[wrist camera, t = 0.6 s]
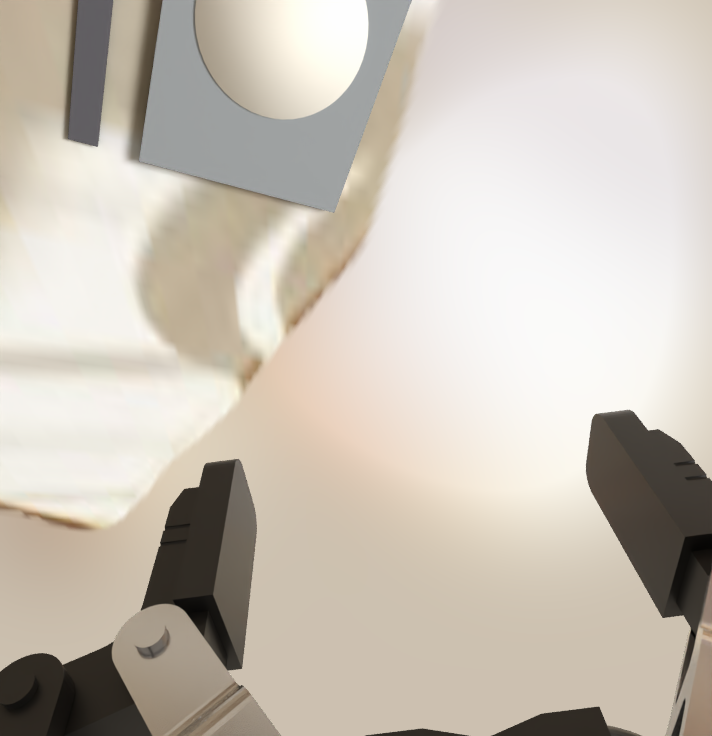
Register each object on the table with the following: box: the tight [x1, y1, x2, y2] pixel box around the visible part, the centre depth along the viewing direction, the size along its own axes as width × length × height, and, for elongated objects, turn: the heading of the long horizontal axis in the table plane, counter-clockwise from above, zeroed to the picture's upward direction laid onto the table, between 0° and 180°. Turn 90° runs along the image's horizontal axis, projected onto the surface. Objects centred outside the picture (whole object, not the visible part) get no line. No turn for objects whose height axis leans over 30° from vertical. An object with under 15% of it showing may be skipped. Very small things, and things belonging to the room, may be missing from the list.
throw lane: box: [68, 0, 412, 213], centre depth 30 cm, size 16×18×1 cm
